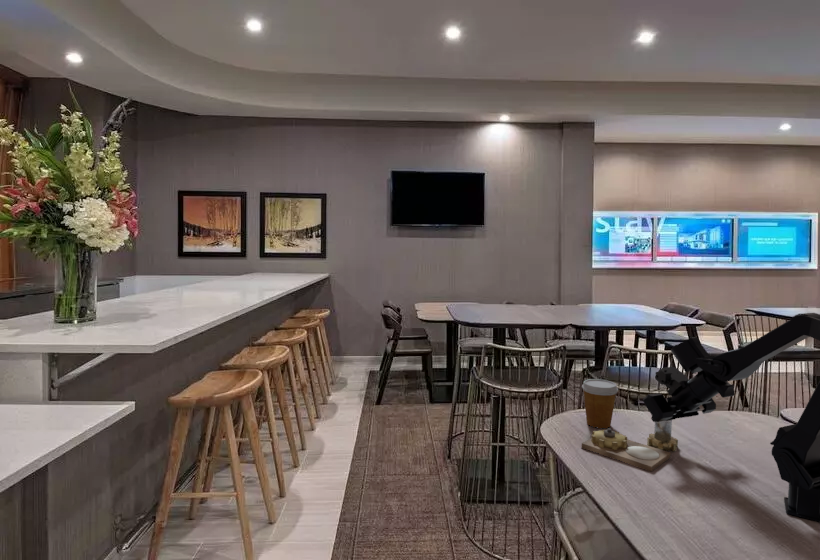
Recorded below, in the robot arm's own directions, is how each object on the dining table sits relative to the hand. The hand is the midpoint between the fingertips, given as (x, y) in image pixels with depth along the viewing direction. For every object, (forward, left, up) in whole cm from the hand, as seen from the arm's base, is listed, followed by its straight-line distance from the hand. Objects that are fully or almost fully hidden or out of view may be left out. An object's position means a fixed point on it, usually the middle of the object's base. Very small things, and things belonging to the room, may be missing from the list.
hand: (658, 418), depth 124 cm
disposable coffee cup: (+5, +16, -7) cm, 18 cm away
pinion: (-1, -1, -7) cm, 7 cm away
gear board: (-10, +6, -7) cm, 14 cm away
